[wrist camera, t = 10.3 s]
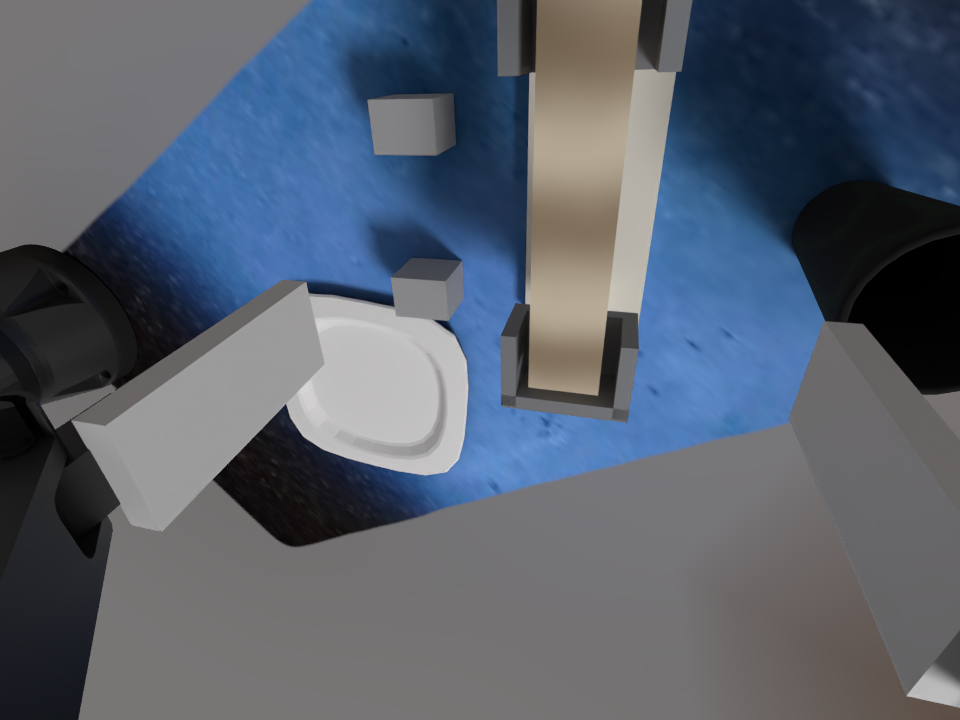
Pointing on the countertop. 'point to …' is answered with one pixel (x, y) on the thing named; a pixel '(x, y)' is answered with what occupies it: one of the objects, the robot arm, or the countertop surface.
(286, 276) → the countertop surface
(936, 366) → the cup
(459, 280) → the rests
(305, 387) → the plate
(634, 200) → the bracket stand
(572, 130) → the rail
